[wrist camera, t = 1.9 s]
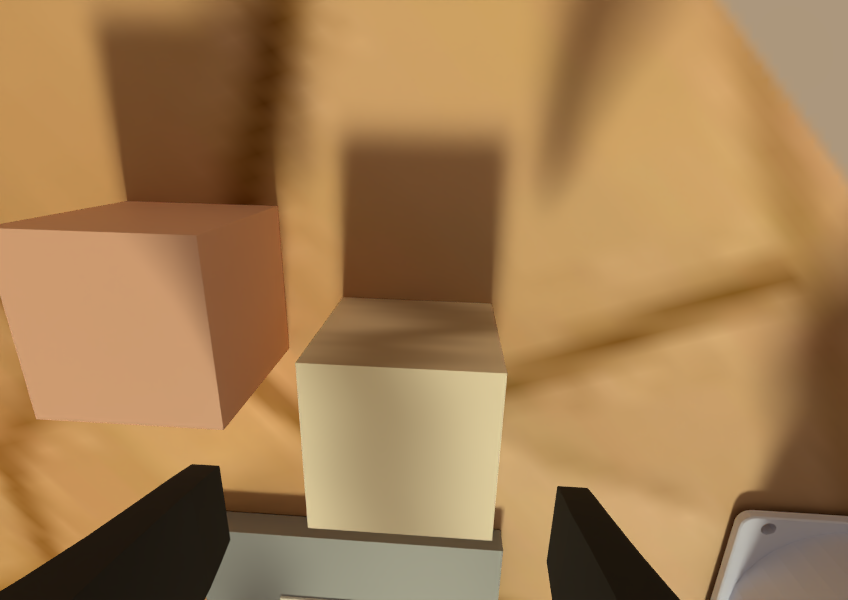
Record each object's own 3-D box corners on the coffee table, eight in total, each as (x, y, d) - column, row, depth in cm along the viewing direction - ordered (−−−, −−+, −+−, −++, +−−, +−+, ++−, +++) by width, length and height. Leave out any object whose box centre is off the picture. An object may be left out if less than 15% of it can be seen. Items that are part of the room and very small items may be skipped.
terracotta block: (278, 205, 15) (196, 235, 10) (289, 347, 16) (223, 429, 12) (129, 200, 15) (-20, 227, 10) (154, 340, 17) (36, 419, 12)
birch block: (491, 302, 15) (507, 373, 11) (481, 430, 17) (492, 540, 12) (343, 296, 16) (295, 362, 11) (348, 422, 17) (307, 528, 13)
